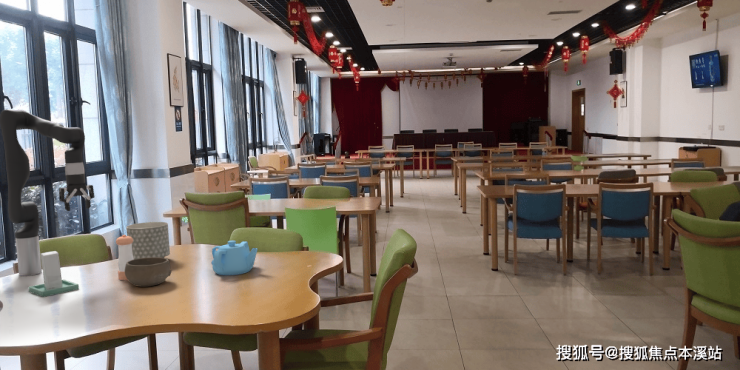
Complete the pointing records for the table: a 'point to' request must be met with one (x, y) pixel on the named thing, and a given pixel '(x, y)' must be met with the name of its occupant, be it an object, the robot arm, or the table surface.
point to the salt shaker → (124, 254)
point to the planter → (149, 239)
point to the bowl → (147, 271)
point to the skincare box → (51, 270)
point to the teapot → (233, 258)
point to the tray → (43, 292)
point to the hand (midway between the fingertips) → (78, 209)
